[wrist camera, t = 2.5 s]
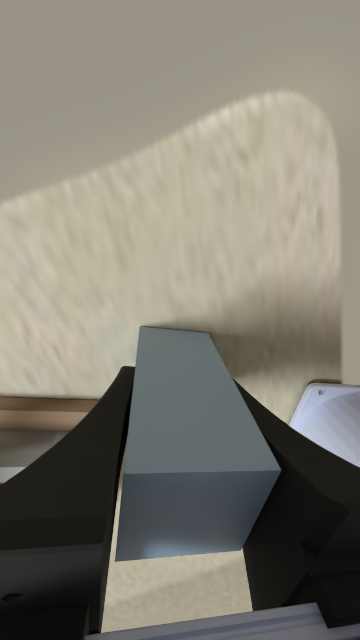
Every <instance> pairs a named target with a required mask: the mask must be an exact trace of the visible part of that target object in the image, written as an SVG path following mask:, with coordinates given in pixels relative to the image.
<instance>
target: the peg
mask: <svg viewBox="0 0 360 640" xmlns="http://www.w3.org/2000/svg"><path fill="white" fill-rule="evenodd" d="M280 472H281V469H280V467H279V465H278V463H277V461H276V459H275V457H274V455H273V454H272V452H271V450H270V448H269V446H268V444H267V442H266V441H265V439H264V437H263V435H262V433H261V431H260V429H259V427H258V426H257V424H256V422H255V420H254V418H253V416H252V414H251V412H250V411H249V409H248V407H247V405H246V403H245V401H244V399H243V398H242V396H241V394H240V392H239V390H238V388H237V386H236V384H235V383H234V381H233V379H232V377H231V375H230V373H229V371H228V369H227V368H226V366H225V364H224V362H223V360H222V358H221V356H220V355H219V353H218V351H217V349H216V347H215V345H214V343H213V341H212V340H211V338H210V336H209V334H208V333H204V332H194V331H183V330H172V329H162V328H151V327H140V331H139V340H138V349H137V358H136V367H135V375H134V384H133V393H132V402H131V411H130V420H129V429H128V438H127V447H126V456H125V464H124V473H123V484H122V494H121V505H120V515H119V526H118V536H117V547H116V557H115V562H117V561H128V560H139V559H150V558H161V557H172V556H184V555H195V554H206V553H217V552H228V551H239V550H241V549H242V547H243V545H244V543H245V541H246V539H247V537H248V535H249V533H250V531H251V529H252V527H253V525H254V523H255V521H256V519H257V517H258V515H259V513H260V512H261V510H262V508H263V506H264V504H265V502H266V500H267V498H268V496H269V494H270V492H271V490H272V488H273V486H274V484H275V482H276V480H277V478H278V476H279V474H280Z"/></svg>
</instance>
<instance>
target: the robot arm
mask: <svg viewBox="0 0 360 640" xmlns="http://www.w3.org/2000/svg"><path fill="white" fill-rule="evenodd" d="M134 375H135V367H131V366H123V367H122V368H121V369H120V371H119V373H118V375H117V377H116V378H115V380H114V381H113V383H112V384H111V386H110V387H109V388H108V390H107V391H106V393H105V394H104V395H103V396H102V398H101V399H100V400H99V401H98V402H97V404H96V405H95V406H94V407H93V408H92V409H91V411H90V412H89V413H88V414H87V415H86V416H85V417H84V418H83V419H82V420H81V421H80V422H79V423H78V424H77V425H76V426H75V427H74V428H73V429H72V430H71V431H70V432H68V433H67V434H66V435H65V436H64V437H63V438H62V439H61V440H60V441H58V442H57V443H56V444H55V445H54V446H53V447H51V448H50V449H49V450H47V451H46V452H45V453H44V454H42V455H41V456H40V457H39V458H37V459H36V460H35V461H34V462H32V463H31V464H30V465H28V466H27V467H26V468H24V469H23V470H22V471H20V472H19V473H17V474H16V475H15V476H13V477H12V478H10V479H9V480H7V481H6V482H4V483H3V484H2V485H0V640H360V385H345V384H327V383H311V384H309V385H308V386H307V387H306V389H305V391H304V394H303V396H302V398H301V400H300V402H299V404H298V406H297V408H296V411H295V413H294V415H293V417H292V419H291V421H290V423H289V425H287V424H286V423H285V422H283V421H282V420H280V419H279V418H278V417H276V416H275V415H274V414H273V413H271V412H270V411H269V410H268V409H267V408H265V407H264V406H263V405H262V404H261V403H259V402H258V401H257V400H256V399H255V398H254V397H252V396H251V395H250V394H249V393H248V392H247V391H246V390H245V389H244V388H243V387H242V386H240V385H239V384H238V383H237V382H236V381H235V380H234V379H233V378H232V379H233V381H234V383H235V384H236V386H237V388H238V390H239V392H240V394H241V396H242V398H243V399H244V401H245V403H246V405H247V407H248V409H249V411H250V412H251V414H252V416H253V418H254V420H255V422H256V424H257V426H258V427H259V429H260V431H261V433H262V435H263V437H264V439H265V441H266V442H267V444H268V446H269V448H270V450H271V452H272V454H273V455H274V457H275V459H276V461H277V463H278V465H279V467H280V469H281V472H280V474H279V476H278V478H277V480H276V482H275V484H274V486H273V488H272V490H271V492H270V494H269V496H268V498H267V500H266V502H265V504H264V506H263V508H262V510H261V512H260V513H259V515H258V517H257V519H256V521H255V523H254V525H253V527H252V529H251V531H250V533H249V535H248V537H247V539H246V541H245V543H244V545H243V547H242V548H243V553H244V558H245V564H246V571H247V577H248V583H249V589H250V595H251V602H252V608H253V611H252V612H245V613H238V614H231V615H224V616H217V617H210V618H203V619H196V620H189V621H183V622H176V623H169V624H162V625H155V626H148V627H141V628H134V629H127V630H120V631H113V632H106V633H101V627H102V619H103V610H104V602H105V594H106V585H107V577H108V568H109V560H110V552H111V543H112V535H113V526H114V518H115V510H116V502H117V493H118V485H119V477H120V471H121V466H122V461H123V456H124V451H125V446H126V441H127V436H128V429H129V420H130V411H131V402H132V393H133V384H134Z"/></svg>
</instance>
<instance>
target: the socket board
mask: <svg viewBox="0 0 360 640" xmlns="http://www.w3.org/2000/svg"><path fill="white" fill-rule="evenodd" d="M98 401H99V400H72V399H42V398H13V397H0V485H2V484H3V483H4V482H6V481H7V480H9V479H10V478H12V477H13V476H15V475H16V474H17V473H19V472H20V471H22V470H23V469H24V468H26V467H27V466H28V465H30V464H31V463H32V462H34V461H35V460H36V459H37V458H39V457H40V456H41V455H42V454H44V453H45V452H46V451H47V450H49V449H50V448H51V447H53V446H54V445H55V444H56V443H57V442H58V441H60V440H61V439H62V438H63V437H64V436H65V435H66V434H67V433H68V432H70V431H71V430H72V429H73V428H74V427H75V426H76V425H77V424H78V423H79V422H80V421H81V420H82V419H83V418H84V417H85V416H86V415H87V414H88V413H89V412H90V411H91V409H92V408H93V407H94V406H95V405H96V404H97V402H98Z"/></svg>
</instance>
